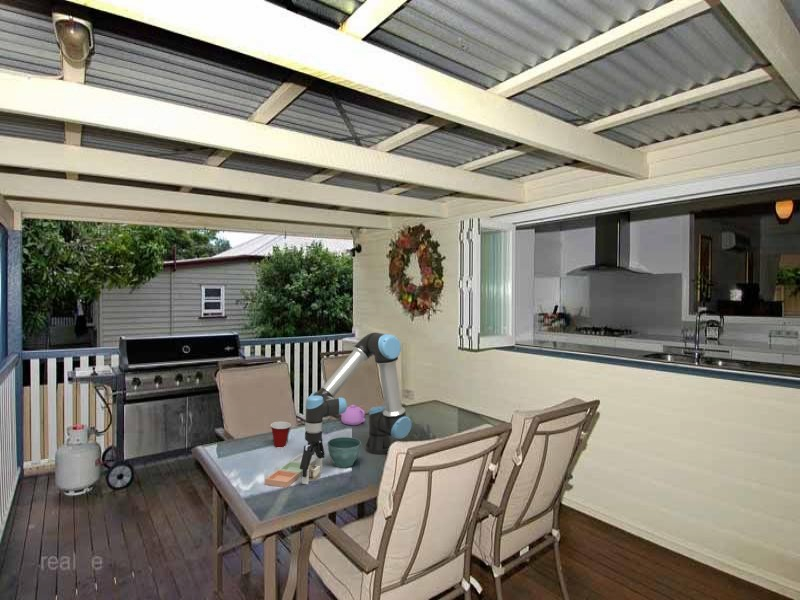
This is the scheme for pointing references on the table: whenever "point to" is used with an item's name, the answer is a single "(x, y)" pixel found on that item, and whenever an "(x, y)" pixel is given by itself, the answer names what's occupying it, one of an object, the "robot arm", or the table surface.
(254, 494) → the table surface
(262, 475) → the table surface
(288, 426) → the plastic cup
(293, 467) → the box sage
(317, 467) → the letter cube
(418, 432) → the table surface
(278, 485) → the box terracotta
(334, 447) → the flower pot
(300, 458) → the box grey
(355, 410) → the teapot
